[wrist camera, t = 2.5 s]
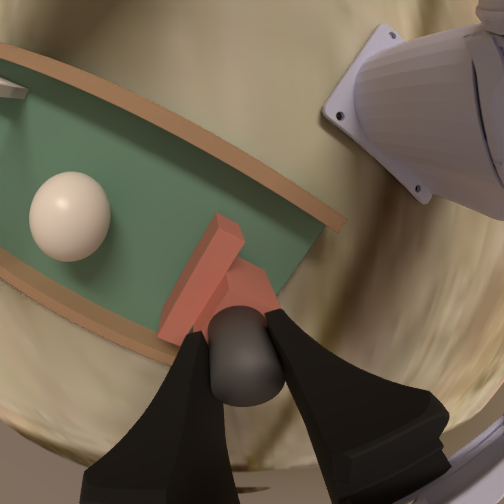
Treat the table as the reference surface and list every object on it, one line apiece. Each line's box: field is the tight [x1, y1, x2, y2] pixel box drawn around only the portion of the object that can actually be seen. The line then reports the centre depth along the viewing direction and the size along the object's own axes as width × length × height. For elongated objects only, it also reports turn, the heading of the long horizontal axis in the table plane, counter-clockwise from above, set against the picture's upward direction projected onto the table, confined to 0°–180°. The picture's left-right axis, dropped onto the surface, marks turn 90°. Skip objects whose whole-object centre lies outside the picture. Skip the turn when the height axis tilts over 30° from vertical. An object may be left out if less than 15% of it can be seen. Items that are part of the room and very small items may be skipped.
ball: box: [29, 172, 111, 262], centre depth 11 cm, size 4×4×4 cm
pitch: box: [0, 42, 347, 366], centre depth 12 cm, size 24×12×2 cm, turn 58°
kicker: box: [157, 212, 285, 407], centre depth 11 cm, size 4×6×7 cm, turn 148°
